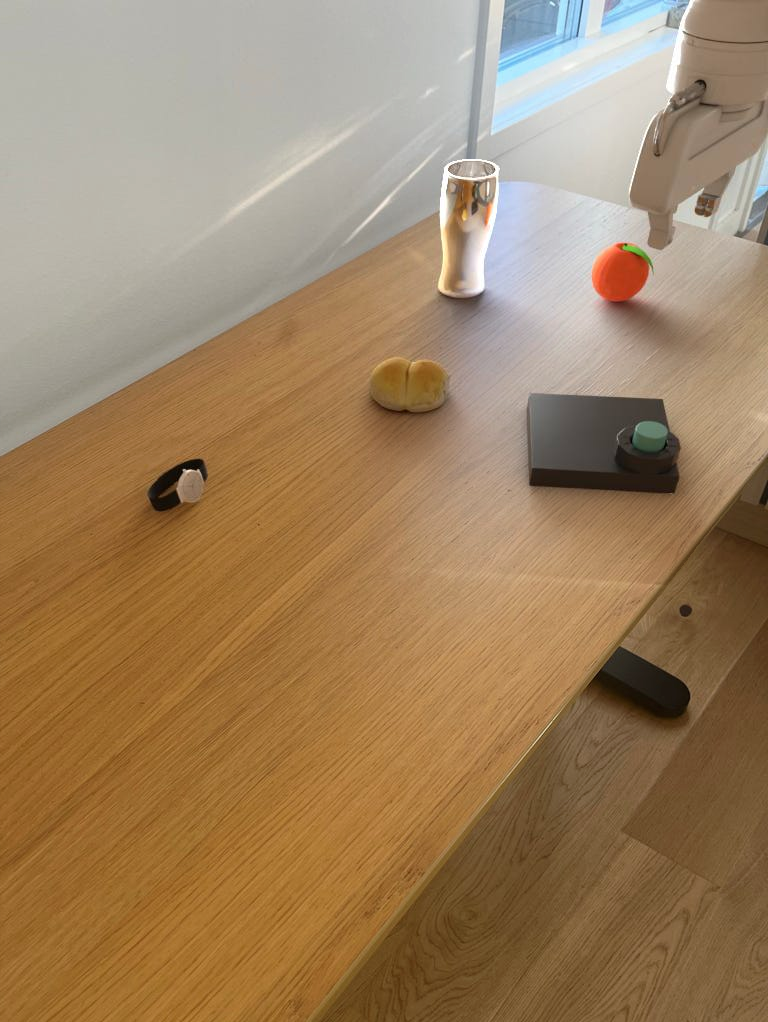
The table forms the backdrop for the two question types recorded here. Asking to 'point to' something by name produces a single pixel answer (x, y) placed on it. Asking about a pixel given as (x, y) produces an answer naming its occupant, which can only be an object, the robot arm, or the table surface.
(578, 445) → the black push button box
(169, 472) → the watch
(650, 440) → the button
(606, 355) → the table surface
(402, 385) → the bread roll
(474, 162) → the beer glass
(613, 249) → the clementine
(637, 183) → the robot arm
